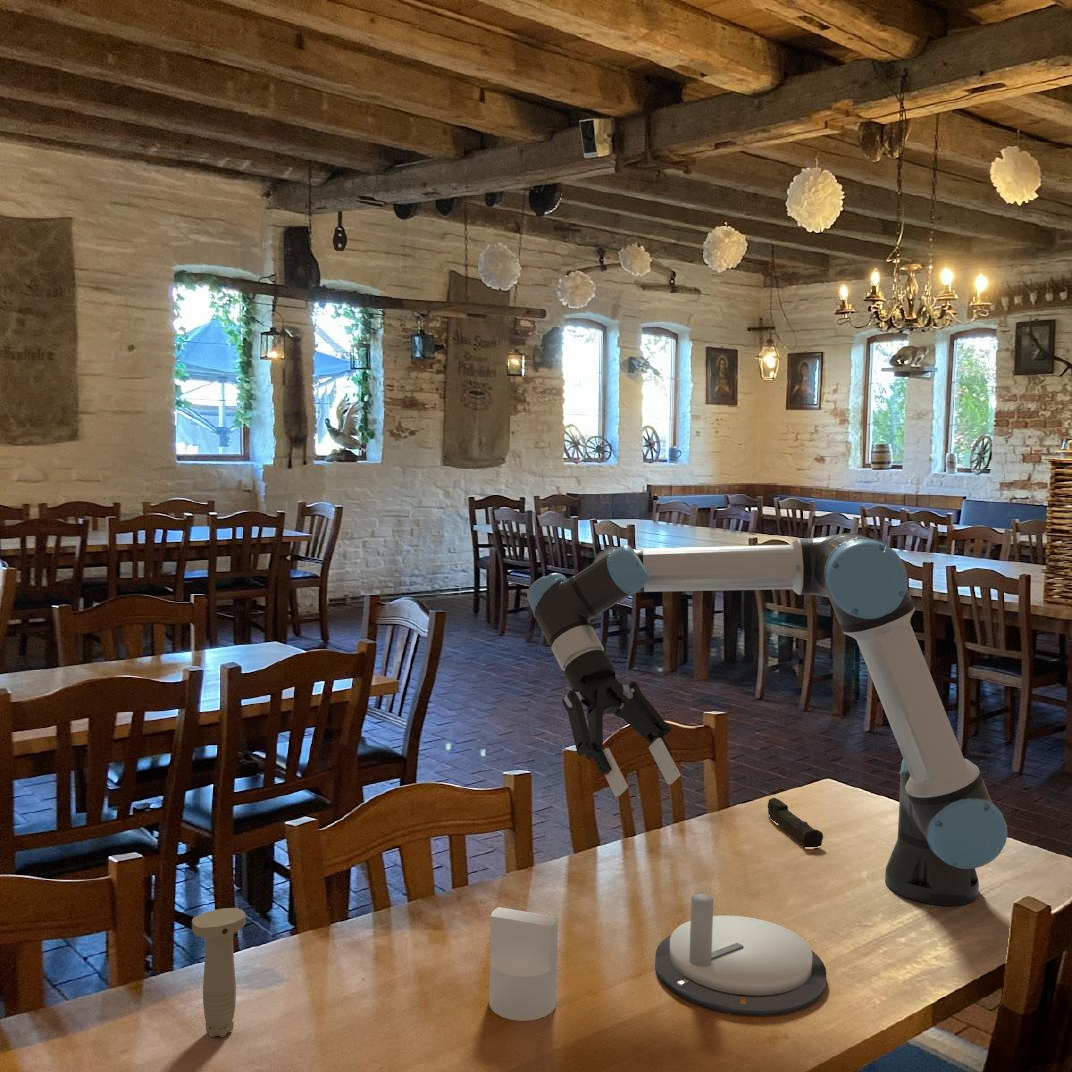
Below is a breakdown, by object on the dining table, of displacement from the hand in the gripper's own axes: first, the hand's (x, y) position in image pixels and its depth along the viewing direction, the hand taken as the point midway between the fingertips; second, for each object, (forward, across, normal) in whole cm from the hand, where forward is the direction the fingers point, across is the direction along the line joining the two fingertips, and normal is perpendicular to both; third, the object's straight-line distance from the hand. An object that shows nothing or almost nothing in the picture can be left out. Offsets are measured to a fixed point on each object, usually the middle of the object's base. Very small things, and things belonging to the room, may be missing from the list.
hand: (648, 785), depth 156 cm
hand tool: (+3, -57, -33) cm, 65 cm away
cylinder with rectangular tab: (+19, +24, -16) cm, 35 cm away
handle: (+8, +60, -28) cm, 66 cm away
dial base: (+27, -7, -9) cm, 29 cm away
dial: (+25, -7, -7) cm, 27 cm away
